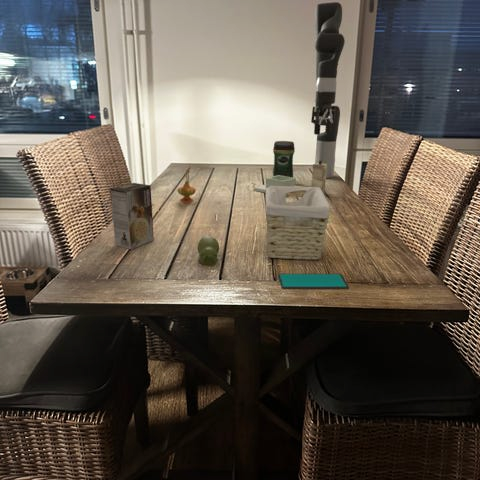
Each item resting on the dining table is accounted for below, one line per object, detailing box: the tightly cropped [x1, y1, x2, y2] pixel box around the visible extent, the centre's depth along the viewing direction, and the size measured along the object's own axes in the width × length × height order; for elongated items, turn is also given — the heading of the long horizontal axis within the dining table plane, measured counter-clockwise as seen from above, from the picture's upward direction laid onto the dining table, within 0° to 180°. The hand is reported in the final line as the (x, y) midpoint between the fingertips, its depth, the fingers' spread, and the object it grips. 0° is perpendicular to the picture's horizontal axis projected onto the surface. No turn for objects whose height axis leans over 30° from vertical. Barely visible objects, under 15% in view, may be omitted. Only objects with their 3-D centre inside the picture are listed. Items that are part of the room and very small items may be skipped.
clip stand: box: [253, 175, 302, 194], centre depth 185 cm, size 16×16×5 cm
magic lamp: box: [177, 168, 196, 203], centre depth 165 cm, size 7×18×11 cm, turn 0°
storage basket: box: [265, 186, 331, 261], centre depth 121 cm, size 24×16×15 cm
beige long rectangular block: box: [311, 160, 327, 194], centre depth 180 cm, size 4×4×14 cm
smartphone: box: [277, 273, 350, 290], centre depth 101 cm, size 7×1×15 cm
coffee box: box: [109, 182, 155, 250], centre depth 120 cm, size 9×6×16 cm
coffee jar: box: [271, 140, 296, 178], centre depth 198 cm, size 10×8×19 cm
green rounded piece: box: [196, 235, 220, 266], centre depth 112 cm, size 6×5×10 cm
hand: (322, 133), depth 175 cm, fingers open, 8 cm apart
